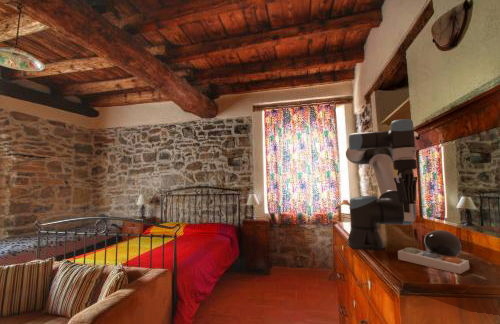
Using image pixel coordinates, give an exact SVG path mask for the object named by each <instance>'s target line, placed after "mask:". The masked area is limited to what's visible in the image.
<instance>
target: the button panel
mask: <svg viewBox="0 0 500 324" xmlns="http://www.w3.org/2000/svg"><path fill="white" fill-rule="evenodd" d="M425 251H426V250H423V249H418V253H417V254H414V253H409V252H405V248H403V249H399V250H397V259H398V261H400V260H401V261H405V262H409V263H413V264H417V265H421V266H425V267H428V268H434V269H439V270H442V271H447V272H450V273H454V274H462V273H464V272H466V271H469V270H470V261H469V260H467V259H465V258H464V259H463V258H459V259H460V263H459V264H456V263H452V262H447V261H444V256H445V255H441V254H438V258H436V259H435V258H431V257H426V256H424V253H423V252H425Z"/></svg>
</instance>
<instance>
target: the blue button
mask: <svg viewBox="0 0 500 324" xmlns="http://www.w3.org/2000/svg"><path fill="white" fill-rule="evenodd" d="M424 251H425V252H423V253H424V256H426V257H431V258H435V259H436V258H438V254H437V253H435V252H430V251H429V250H428V251H427V250H424Z"/></svg>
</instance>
